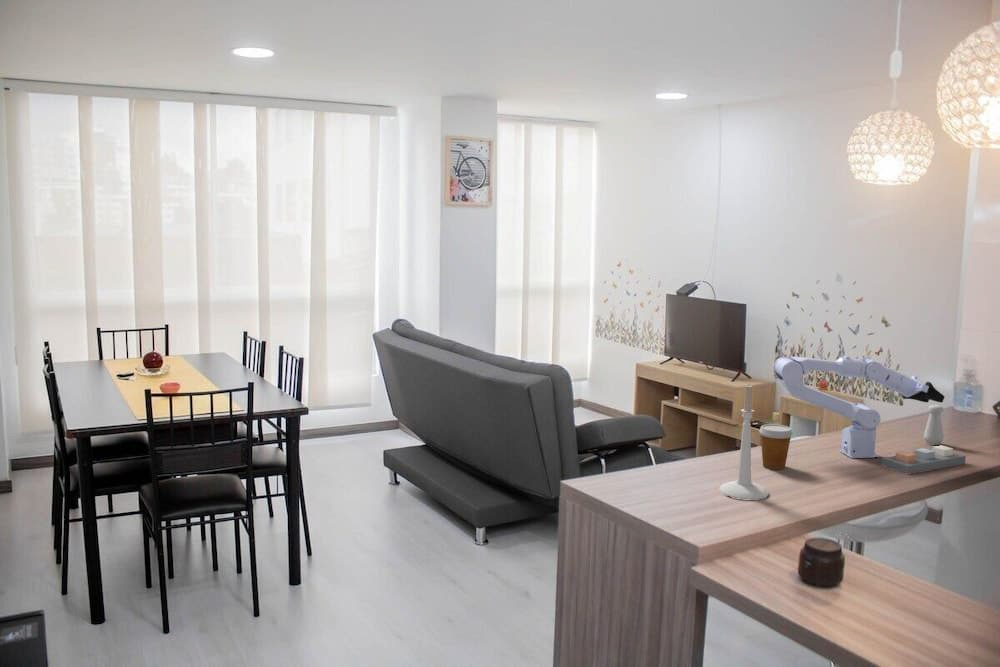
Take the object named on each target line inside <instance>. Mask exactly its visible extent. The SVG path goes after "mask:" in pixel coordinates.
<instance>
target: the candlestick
mask: <svg viewBox="0 0 1000 667" xmlns="http://www.w3.org/2000/svg"><path fill="white" fill-rule="evenodd" d="M752 407H753V386H752V385H750V384H748V385H744V396H743V408H742V409H740V412H741V413H742V414H741V416H742V418H743V422H742V431H741V442H740V451H739V459H738V460H739V462H738V472H737V479H736V480H731V481H728V482H725V483H723V484H721V485H720V486H719V487H718V488H719V489H718V490H720V491H721V492H722V493H724V494H725V495H727V496H730V497H734V498H740V499H750V500H755V501H757V500H756V499H762V500H764V499H763V498H765V499H767V498H768V497H769V491H768V490H767V489H766V487H764V486H763V485H760V484H758V483H756V482H753V481H752V446H751V445H752V440H751V437H752V436H751V434H752V433H751V431H752V430H751V429H752V428H751V427H752V426H751V425H752V424H751V419H752V418H753V413H755V410H754V409H752ZM727 496H726V497H727ZM767 496H768V497H767ZM766 497H767V498H766Z"/></svg>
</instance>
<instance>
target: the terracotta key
mask: <svg viewBox="0 0 1000 667" xmlns="http://www.w3.org/2000/svg"><path fill="white" fill-rule="evenodd" d="M913 453H914V452H910V451H906V450H904V451H897V452H895V456H896V457H895V460H898V461H901V462H904V463H912V462H916V459H917V455H916V454H913Z"/></svg>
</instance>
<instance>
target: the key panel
mask: <svg viewBox="0 0 1000 667" xmlns="http://www.w3.org/2000/svg"><path fill="white" fill-rule="evenodd" d="M912 453H913V454H914V452H912ZM895 457H896V455H893V456H888V457H882V458H881V459H882V460H881V466H882V465H883V466H886V467H888V468H887V469H889V468H891V469H890V470H892V469H894V470H893V471H895V470H897V471H896V472H898V471H900V472H899V473H901V472H903V473H902V474H904V473H907V474H908V475H910V474H909V473H914V474H916V473H915V472H919V473H921V472H920V471H924V472H929V471H928V470H930V471H933V470H934V469H935V470H941V469H945V468H946V469H947V468H950V467H957V466H962V465H966V457H967V456H966V455H963V454H960V453H956V452H953V455H952V456H947V457H943V456H939V455H936V454H935V459H929V460H924V459H920V458H917V459H916V462H912V463H904V462H901V461H898V460H895ZM883 466H882V467H883ZM886 467H885V468H886ZM940 468H941V469H940ZM907 474H906V475H907Z"/></svg>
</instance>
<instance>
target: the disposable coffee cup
mask: <svg viewBox="0 0 1000 667" xmlns="http://www.w3.org/2000/svg"><path fill="white" fill-rule="evenodd" d="M758 432H759V435H760V443H761V444H760V445H761V446H760V447H761V458H762V466H763V467H764V468H765V467H767V468H766V469H768V468H770V469H769V470H774V469H781V470H784V469H785V468H786V463H787V460H788V459H787V458H788V453H789V449H790V448H789V446H790V444H791V443H790V442H791V437H792V435H793V434H794V433H793V431H792V428H791V427H790V426H787V425H783V424H775V423H769V424H768V423H766V424H762V425H761V426H760V429H759V430H758ZM783 468H784V469H783Z"/></svg>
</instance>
